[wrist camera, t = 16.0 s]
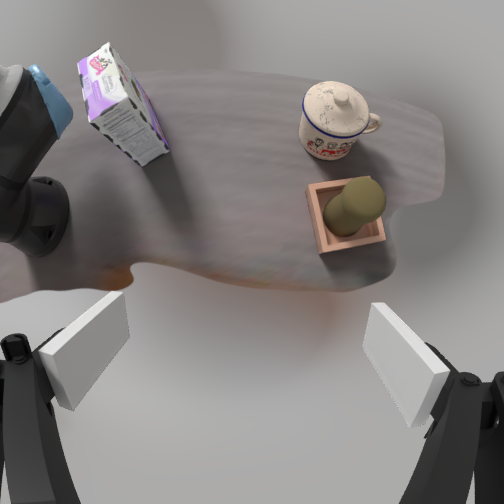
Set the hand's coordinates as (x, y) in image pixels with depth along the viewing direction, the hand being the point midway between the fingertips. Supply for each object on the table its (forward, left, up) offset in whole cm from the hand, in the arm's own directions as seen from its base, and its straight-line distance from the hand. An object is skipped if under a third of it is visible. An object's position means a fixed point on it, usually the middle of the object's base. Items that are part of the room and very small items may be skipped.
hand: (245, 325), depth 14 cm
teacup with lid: (+16, +21, -26) cm, 37 cm away
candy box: (-14, +30, -26) cm, 42 cm away
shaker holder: (+14, +8, -26) cm, 30 cm away
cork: (+13, +8, -25) cm, 30 cm away
